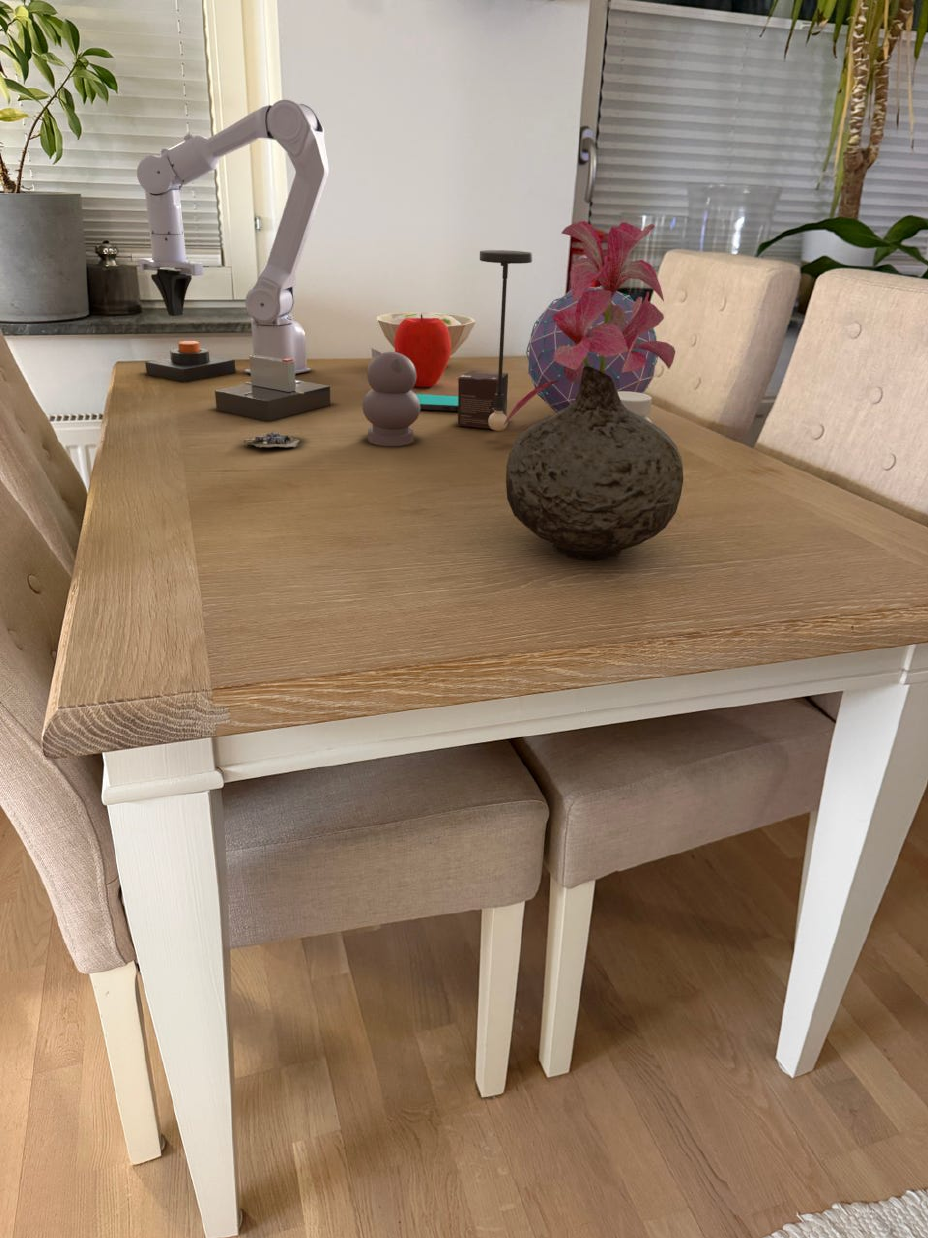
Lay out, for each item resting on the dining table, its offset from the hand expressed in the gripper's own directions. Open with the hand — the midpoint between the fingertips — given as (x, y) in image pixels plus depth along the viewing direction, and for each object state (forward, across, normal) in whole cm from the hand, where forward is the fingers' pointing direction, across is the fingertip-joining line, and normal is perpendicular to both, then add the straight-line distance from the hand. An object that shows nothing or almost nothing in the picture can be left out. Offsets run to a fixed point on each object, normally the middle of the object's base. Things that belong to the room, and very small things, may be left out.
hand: (175, 315), depth 162 cm
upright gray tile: (+6, +35, -12) cm, 38 cm away
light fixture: (+10, +74, -9) cm, 75 cm away
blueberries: (+10, +50, -28) cm, 58 cm away
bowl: (+10, +33, +32) cm, 47 cm away
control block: (+9, +5, -2) cm, 11 cm away
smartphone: (+9, +55, +6) cm, 56 cm away
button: (+6, +5, -2) cm, 8 cm away
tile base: (+9, +35, -12) cm, 38 cm away
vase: (+10, +101, -37) cm, 108 cm away
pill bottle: (+10, +96, -17) cm, 98 cm away
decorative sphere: (+10, +77, +13) cm, 79 cm away
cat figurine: (+10, +61, -16) cm, 64 cm away
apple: (+10, +43, +17) cm, 47 cm away
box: (+10, +66, 0) cm, 67 cm away
